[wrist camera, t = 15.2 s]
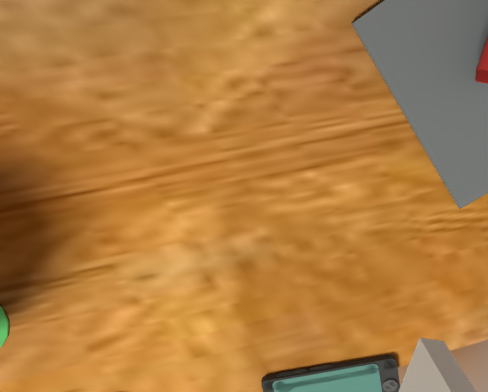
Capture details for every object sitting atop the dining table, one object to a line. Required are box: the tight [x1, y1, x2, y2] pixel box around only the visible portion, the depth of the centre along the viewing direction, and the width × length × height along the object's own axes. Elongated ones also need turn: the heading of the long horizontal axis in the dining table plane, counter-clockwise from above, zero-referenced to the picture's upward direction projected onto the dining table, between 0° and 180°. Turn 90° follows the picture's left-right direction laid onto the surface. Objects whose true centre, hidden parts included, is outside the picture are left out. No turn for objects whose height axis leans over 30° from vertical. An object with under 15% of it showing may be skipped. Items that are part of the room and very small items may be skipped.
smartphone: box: [262, 355, 400, 392], centre depth 49 cm, size 7×1×15 cm
